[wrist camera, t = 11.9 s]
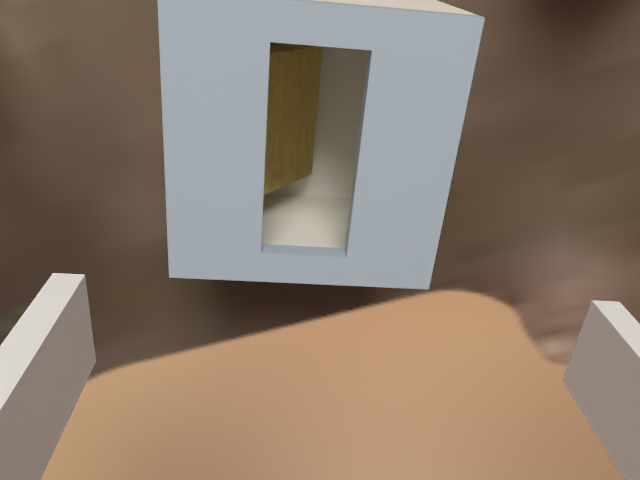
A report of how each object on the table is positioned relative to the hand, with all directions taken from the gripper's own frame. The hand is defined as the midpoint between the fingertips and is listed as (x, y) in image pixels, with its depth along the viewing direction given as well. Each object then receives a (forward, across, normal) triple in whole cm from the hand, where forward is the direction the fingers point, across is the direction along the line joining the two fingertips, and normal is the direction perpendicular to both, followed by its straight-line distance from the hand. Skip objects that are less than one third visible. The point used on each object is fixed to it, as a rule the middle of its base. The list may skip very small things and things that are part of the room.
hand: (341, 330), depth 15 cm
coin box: (+25, 0, 0) cm, 25 cm away
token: (+23, -1, 0) cm, 23 cm away
